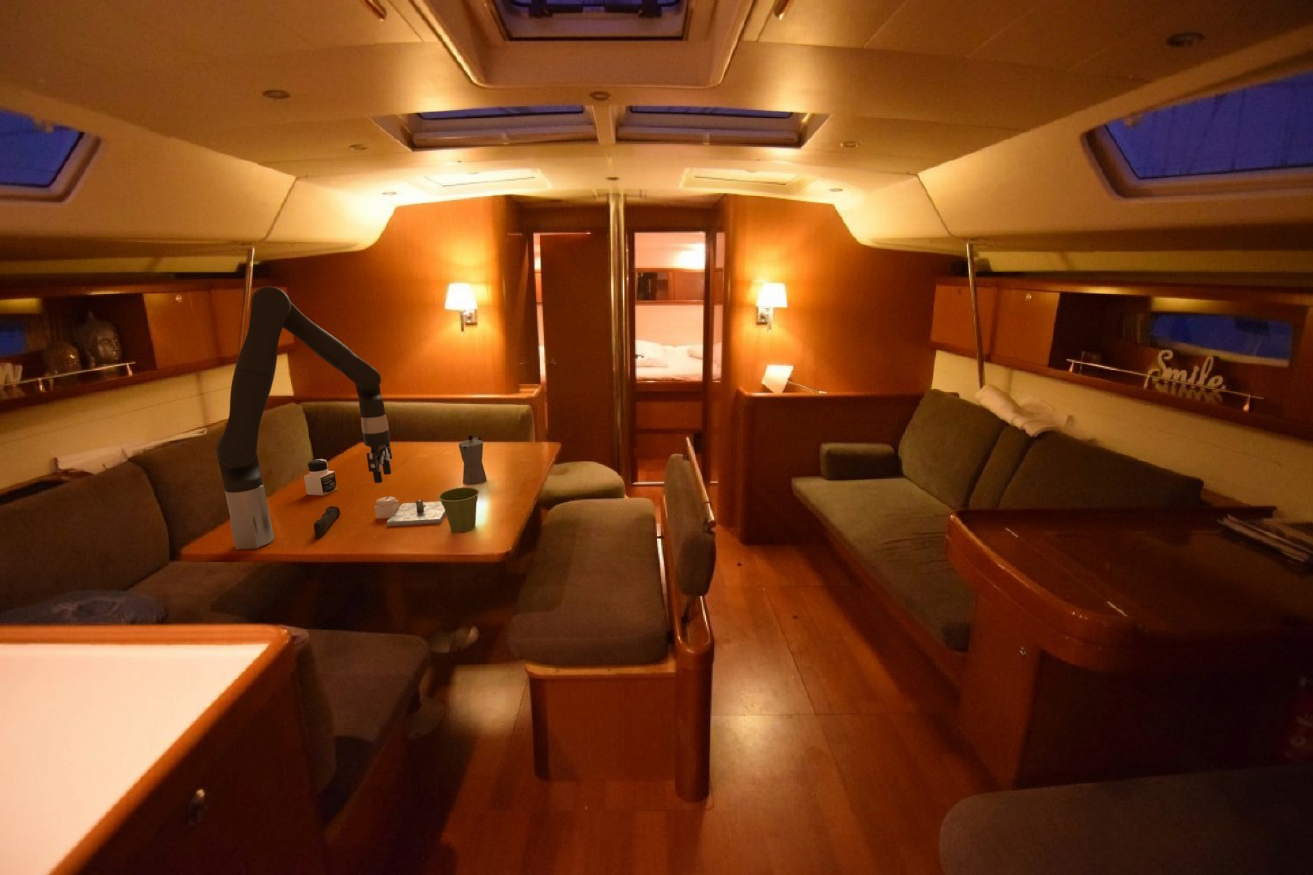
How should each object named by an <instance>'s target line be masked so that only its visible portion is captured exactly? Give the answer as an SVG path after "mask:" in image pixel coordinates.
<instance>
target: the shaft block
mask: <svg viewBox="0 0 1313 875" xmlns="http://www.w3.org/2000/svg"><path fill="white" fill-rule="evenodd" d="M445 516H446V512H445V509H444V506H443V505H442V502H441V500H440V501H426V502H425V501H424V500H423V499H416V500H415V502H406V503H405V502H404V503H402V504H400V505H399V508H398V509H397V511H396V512H395V513H394V514H393V515H392V516H391V517H390V518H388V519H387V521H386V526H387V527H397V526H417V525H419V526H420V525H433V524H434V525H436V524H441V523H442V521H443V520H444V518H445Z"/></svg>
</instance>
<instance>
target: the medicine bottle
mask: <svg viewBox="0 0 1313 875" xmlns="http://www.w3.org/2000/svg"><path fill="white" fill-rule="evenodd" d="M328 466H329V465H328V462H327V460H326V459H323V458H319V459H313V460H310V461H308V463H307V467H308V473H309V474H306V475H304V476H303V478H304V485H305V490H306V495H310V496H326V495H329V494H330V493H332V492H335V491H336V490H338V485H337V479H336V472H335V470H329V467H328Z"/></svg>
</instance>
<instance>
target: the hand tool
mask: <svg viewBox="0 0 1313 875" xmlns="http://www.w3.org/2000/svg"><path fill="white" fill-rule="evenodd" d="M340 515H341V511H340V508H339V507H338V506H336V505H335V506H333V505H332V506H331V505H330V506H329V507H327V508H325V512H324V513H323V514H322V515H321V517H320V519H316V520H315V522H314V524H313V529H314V531H313V532H314V534H315V538H316V540H318V539H320V538H322V537H323V536H324V535H326V533H327V530H328V529H329V527H330V526H332V523H333V522H334V521H335V520H336V518H339V517H340Z"/></svg>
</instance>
